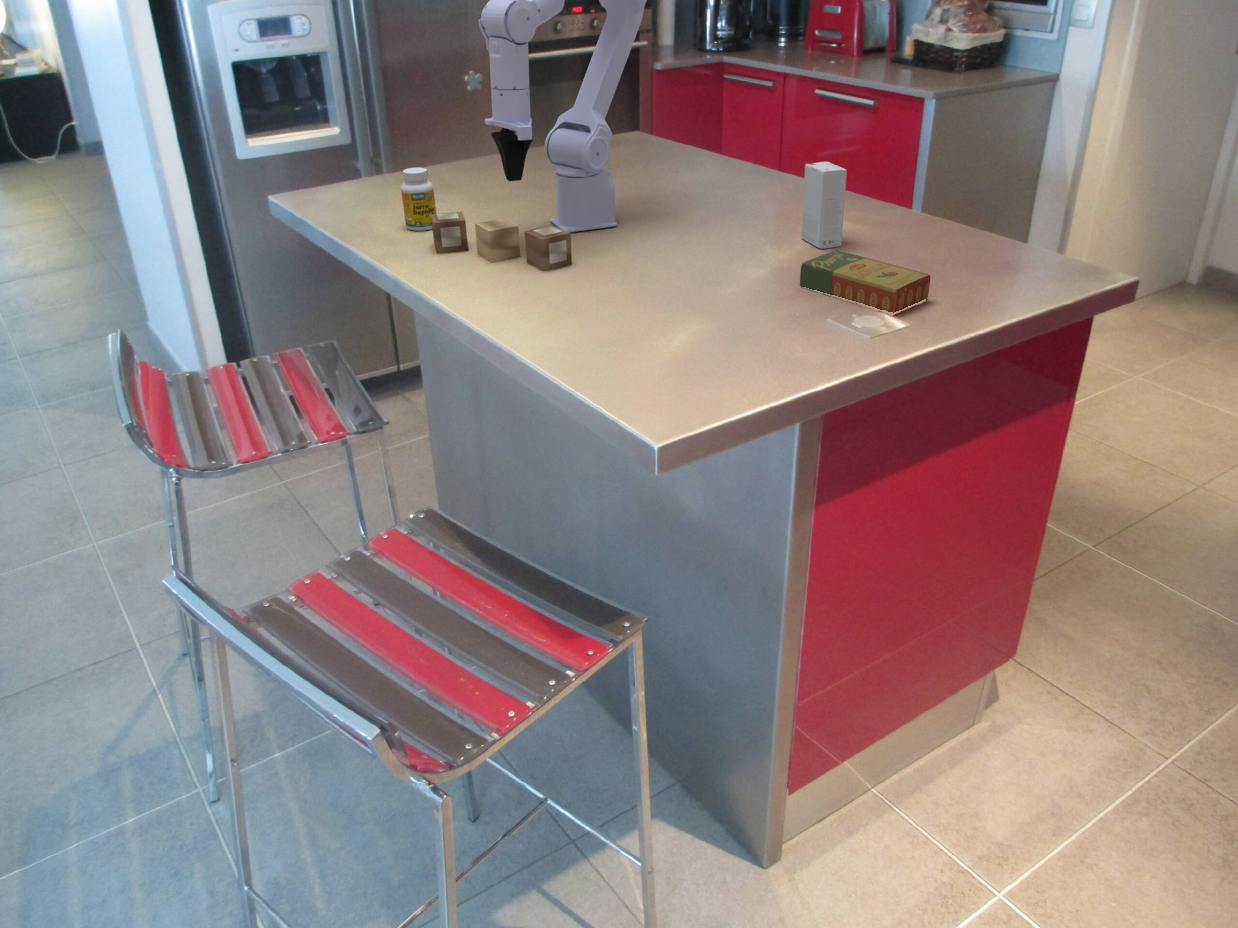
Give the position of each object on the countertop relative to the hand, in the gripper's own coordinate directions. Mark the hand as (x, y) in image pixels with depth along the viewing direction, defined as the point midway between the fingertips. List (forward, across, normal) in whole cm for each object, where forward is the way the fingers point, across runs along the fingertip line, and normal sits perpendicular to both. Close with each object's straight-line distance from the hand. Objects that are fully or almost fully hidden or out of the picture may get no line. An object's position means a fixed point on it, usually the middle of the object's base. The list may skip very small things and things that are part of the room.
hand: (513, 180), depth 153 cm
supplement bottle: (+11, -17, -12) cm, 23 cm away
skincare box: (+10, +18, +45) cm, 50 cm away
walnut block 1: (+11, -4, -10) cm, 15 cm away
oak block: (+11, +3, -4) cm, 12 cm away
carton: (+10, +40, +38) cm, 57 cm away
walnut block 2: (+11, +10, +2) cm, 15 cm away
